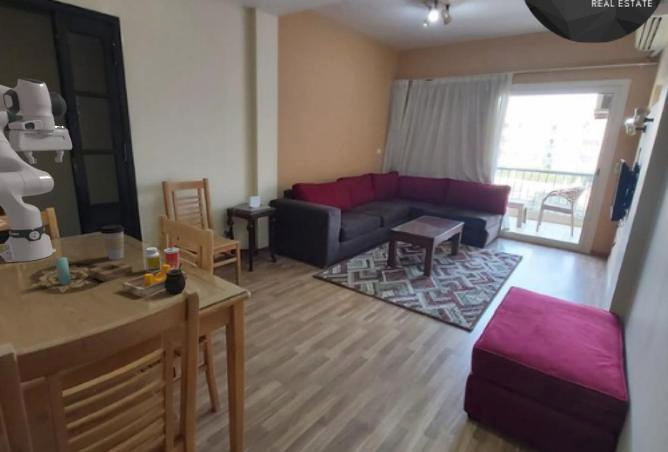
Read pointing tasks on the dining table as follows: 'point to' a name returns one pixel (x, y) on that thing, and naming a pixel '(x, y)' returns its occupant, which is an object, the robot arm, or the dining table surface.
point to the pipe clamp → (156, 276)
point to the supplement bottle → (152, 259)
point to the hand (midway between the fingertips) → (46, 162)
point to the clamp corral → (134, 288)
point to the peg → (63, 271)
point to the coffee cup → (113, 240)
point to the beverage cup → (172, 256)
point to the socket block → (110, 271)
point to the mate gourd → (174, 281)
